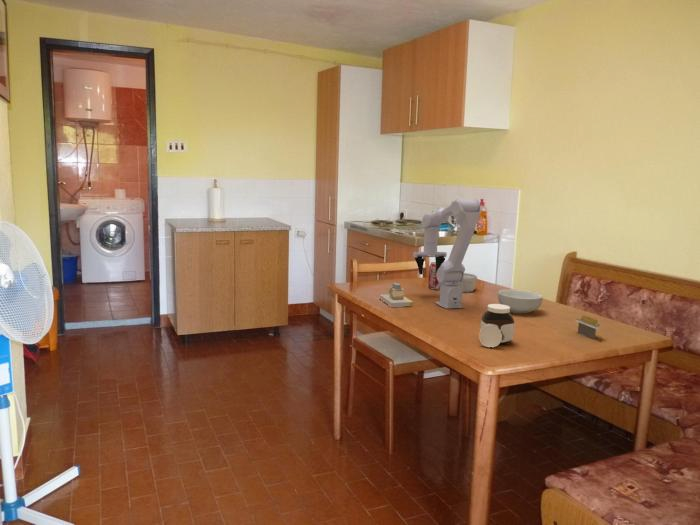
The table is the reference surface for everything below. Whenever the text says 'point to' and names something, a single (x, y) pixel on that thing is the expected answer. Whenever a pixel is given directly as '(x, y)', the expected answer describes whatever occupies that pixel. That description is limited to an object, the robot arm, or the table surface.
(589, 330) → the grey yellow-topped box
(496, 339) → the spread jar
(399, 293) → the tan hollow block
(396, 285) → the grey square prism
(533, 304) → the cereal bowl
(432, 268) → the soda can
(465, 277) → the ramekin
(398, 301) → the dock
